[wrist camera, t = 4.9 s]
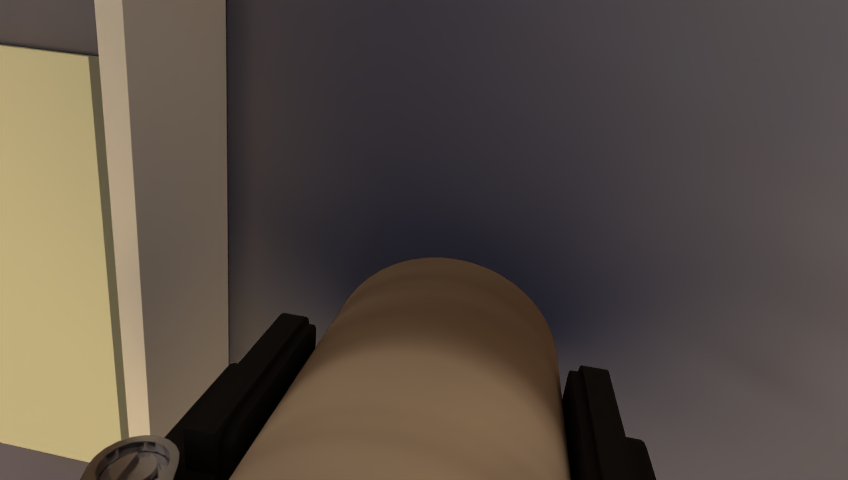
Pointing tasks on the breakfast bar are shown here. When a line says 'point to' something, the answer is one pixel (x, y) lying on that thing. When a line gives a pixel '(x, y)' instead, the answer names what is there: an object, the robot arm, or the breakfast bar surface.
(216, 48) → the cream plank
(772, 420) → the breakfast bar surface
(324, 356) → the birch cylinder
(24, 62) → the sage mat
